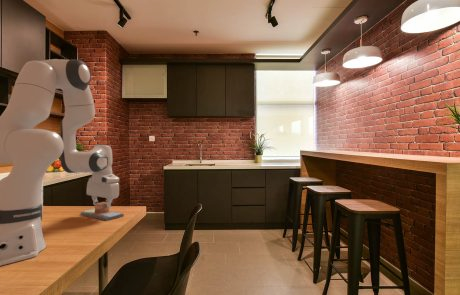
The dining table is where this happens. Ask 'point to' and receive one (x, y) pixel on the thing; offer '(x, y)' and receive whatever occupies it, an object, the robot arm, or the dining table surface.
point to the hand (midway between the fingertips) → (101, 205)
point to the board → (103, 216)
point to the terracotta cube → (101, 208)
